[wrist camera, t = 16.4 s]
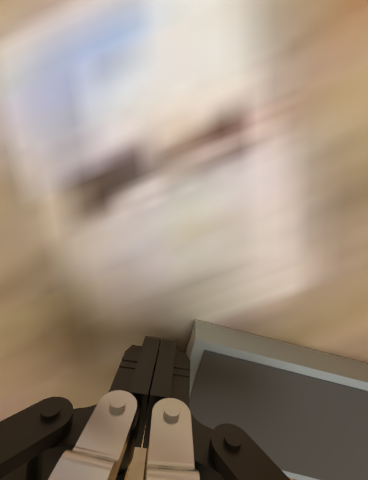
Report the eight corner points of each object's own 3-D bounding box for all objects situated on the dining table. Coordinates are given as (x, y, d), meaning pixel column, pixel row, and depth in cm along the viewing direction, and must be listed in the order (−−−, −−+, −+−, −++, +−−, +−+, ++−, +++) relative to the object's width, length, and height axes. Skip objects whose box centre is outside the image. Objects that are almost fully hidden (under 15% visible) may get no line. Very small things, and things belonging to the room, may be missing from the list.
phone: (355, 456, 16) (382, 502, 13) (167, 409, 15) (163, 448, 13) (399, 367, 14) (436, 401, 12) (195, 314, 14) (195, 339, 12)
